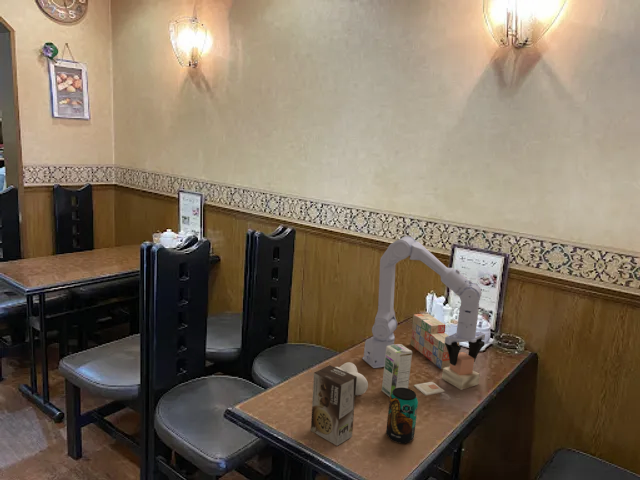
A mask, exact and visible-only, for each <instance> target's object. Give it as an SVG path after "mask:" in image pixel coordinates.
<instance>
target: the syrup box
mask: <svg viewBox="0 0 640 480" xmlns="http://www.w3.org/2000/svg"><path fill="white" fill-rule="evenodd" d="M412 357H413V350H411V349H410V348H407V347H406V346H405V345H403V344H402V343H401V344H399V343H397V344H395V343H394V345H389V346H387V347H386V355H385V365H384V367H383V375H382V383H381V384H382V386H381V392H383V393H384V394H385V395H387V396H388V397H389V398H390V396H391V394H392V393H393V390H394V389H396V388H408V389H409V383H410V375H411V366H412Z"/></svg>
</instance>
